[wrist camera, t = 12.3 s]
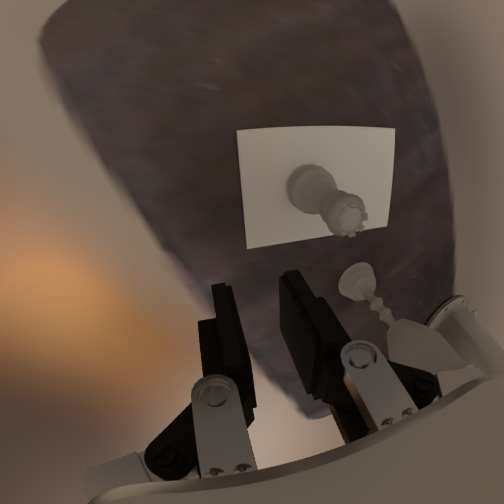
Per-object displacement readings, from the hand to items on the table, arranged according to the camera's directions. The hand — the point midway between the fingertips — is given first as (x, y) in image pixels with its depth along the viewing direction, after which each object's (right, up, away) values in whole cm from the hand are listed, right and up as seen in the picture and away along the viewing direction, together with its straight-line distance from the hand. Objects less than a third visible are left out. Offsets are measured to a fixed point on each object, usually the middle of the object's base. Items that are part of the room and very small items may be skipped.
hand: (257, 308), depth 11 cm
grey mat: (+7, +9, +14) cm, 18 cm away
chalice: (+12, -1, +21) cm, 25 cm away
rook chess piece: (+5, +8, +14) cm, 17 cm away
